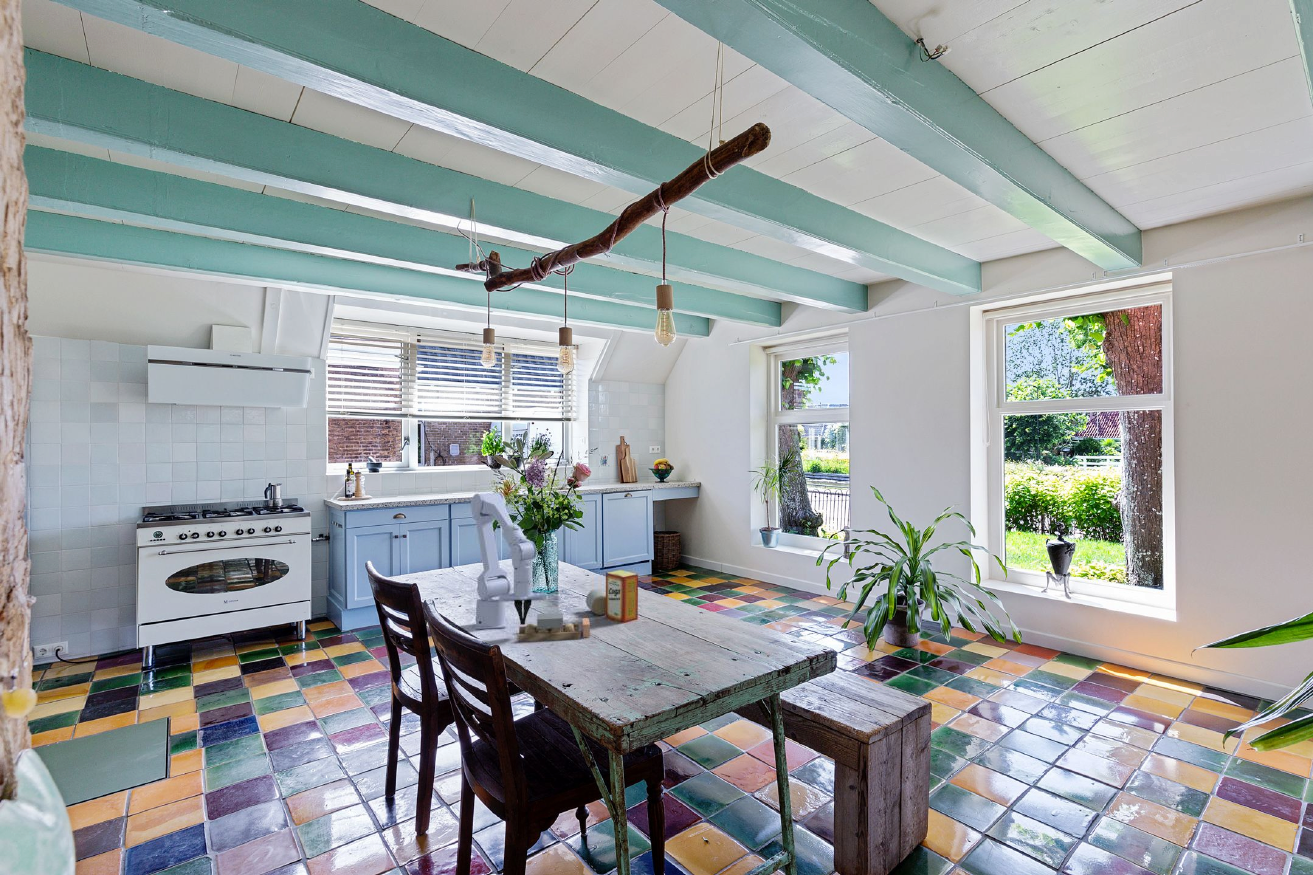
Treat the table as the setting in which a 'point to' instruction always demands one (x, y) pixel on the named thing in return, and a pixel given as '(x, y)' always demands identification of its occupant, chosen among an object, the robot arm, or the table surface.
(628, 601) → the baking soda box
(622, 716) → the table surface
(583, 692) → the table surface
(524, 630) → the roller track
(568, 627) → the roller
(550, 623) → the slab
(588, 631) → the block
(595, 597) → the ceramic mug
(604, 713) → the table surface
